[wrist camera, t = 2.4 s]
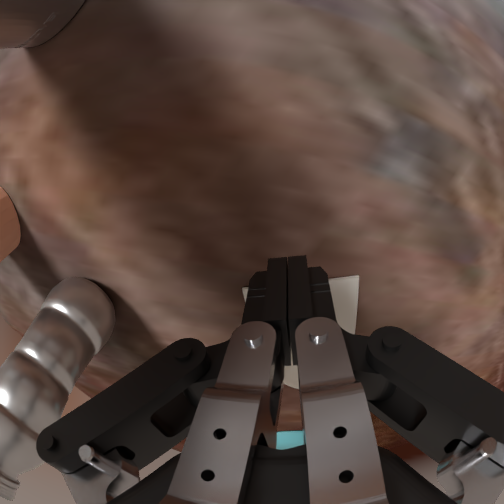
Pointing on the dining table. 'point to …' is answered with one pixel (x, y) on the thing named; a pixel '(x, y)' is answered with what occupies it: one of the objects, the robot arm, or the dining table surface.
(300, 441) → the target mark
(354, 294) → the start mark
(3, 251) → the pepper shaker
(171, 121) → the dining table surface
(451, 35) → the dining table surface
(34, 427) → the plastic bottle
